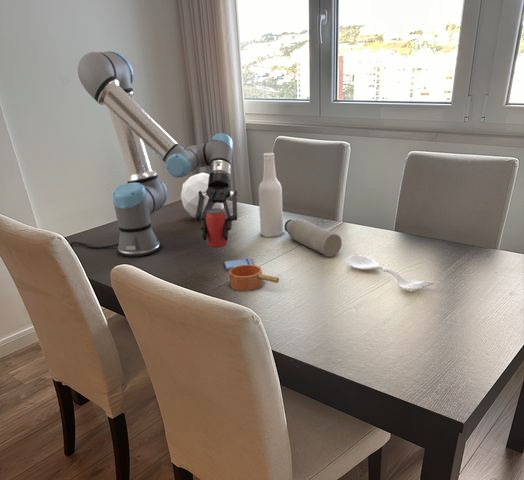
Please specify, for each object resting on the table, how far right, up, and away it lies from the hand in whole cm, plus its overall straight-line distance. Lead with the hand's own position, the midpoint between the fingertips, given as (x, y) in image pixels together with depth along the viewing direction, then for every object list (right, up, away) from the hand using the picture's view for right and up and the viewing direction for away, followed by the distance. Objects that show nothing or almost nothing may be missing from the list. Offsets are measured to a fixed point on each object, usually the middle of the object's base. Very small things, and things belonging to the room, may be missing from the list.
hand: (215, 238), depth 164 cm
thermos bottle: (+40, -2, +3) cm, 40 cm away
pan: (+11, -17, -12) cm, 23 cm away
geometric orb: (-9, +21, +53) cm, 58 cm away
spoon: (+54, -15, -13) cm, 57 cm away
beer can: (+1, -1, +5) cm, 5 cm away
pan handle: (+18, -17, -17) cm, 30 cm away
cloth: (+8, -9, +2) cm, 12 cm away
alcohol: (+20, +8, +29) cm, 36 cm away
